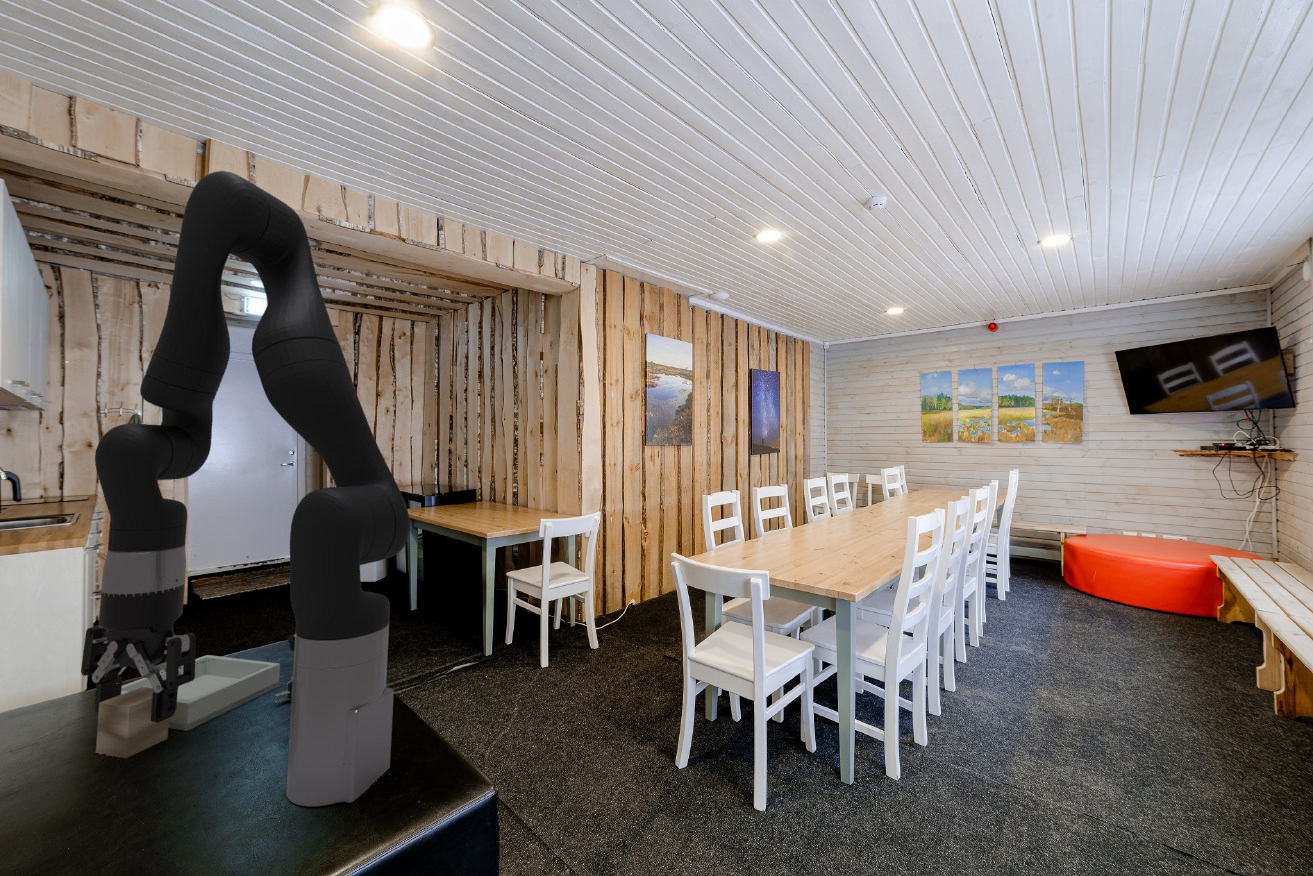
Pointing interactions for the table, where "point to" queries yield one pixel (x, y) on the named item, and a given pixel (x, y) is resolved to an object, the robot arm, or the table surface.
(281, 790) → the table surface
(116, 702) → the pine block
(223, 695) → the tray
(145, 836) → the table surface
